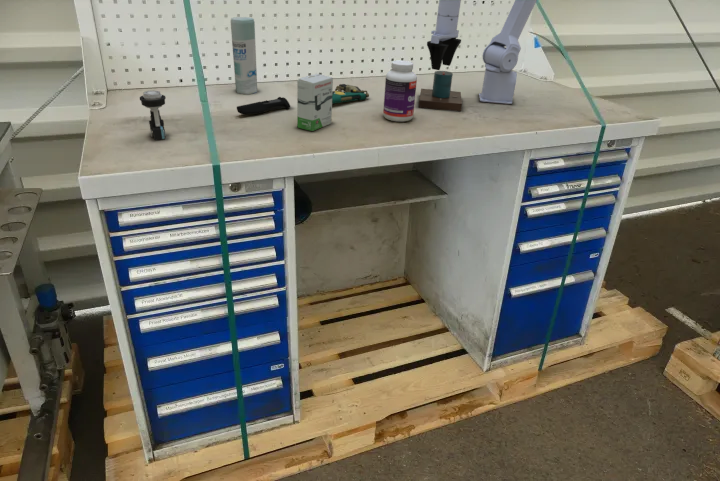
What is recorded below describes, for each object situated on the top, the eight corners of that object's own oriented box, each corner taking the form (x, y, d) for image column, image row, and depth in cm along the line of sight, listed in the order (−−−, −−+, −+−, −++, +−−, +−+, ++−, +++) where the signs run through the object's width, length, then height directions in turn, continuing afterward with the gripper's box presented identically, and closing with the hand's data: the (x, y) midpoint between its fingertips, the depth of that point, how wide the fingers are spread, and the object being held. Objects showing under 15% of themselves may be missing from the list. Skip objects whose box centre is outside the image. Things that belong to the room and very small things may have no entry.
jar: (432, 92, 156) (434, 69, 152) (449, 94, 155) (452, 70, 152) (431, 97, 151) (434, 73, 148) (449, 98, 151) (453, 74, 147)
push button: (143, 132, 122) (135, 89, 116) (166, 129, 124) (160, 87, 119) (148, 141, 117) (141, 97, 112) (173, 138, 119) (167, 94, 114)
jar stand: (420, 95, 160) (421, 87, 159) (459, 99, 159) (460, 91, 158) (418, 107, 149) (419, 99, 148) (460, 111, 148) (462, 103, 147)
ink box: (312, 132, 127) (312, 82, 121) (296, 127, 130) (295, 78, 123) (332, 123, 134) (333, 75, 128) (317, 119, 136) (317, 72, 130)
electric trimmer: (234, 116, 136) (233, 104, 134) (283, 105, 145) (282, 94, 143) (242, 120, 133) (241, 107, 132) (291, 109, 143) (291, 97, 141)
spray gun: (353, 92, 162) (376, 108, 151) (303, 93, 155) (322, 109, 144) (355, 78, 160) (378, 93, 149) (304, 78, 153) (324, 94, 142)
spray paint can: (262, 91, 156) (259, 19, 146) (247, 95, 152) (242, 21, 141) (246, 87, 159) (241, 16, 149) (230, 91, 155) (225, 18, 144)
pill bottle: (411, 124, 136) (416, 67, 129) (380, 121, 137) (384, 64, 130) (414, 115, 143) (420, 60, 136) (385, 112, 144) (389, 58, 137)
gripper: (444, 11, 149) (438, 61, 155) (423, 15, 138) (417, 68, 144) (468, 14, 146) (460, 65, 152) (448, 19, 135) (440, 73, 142)
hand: (441, 67), depth 148 cm, fingers open, 7 cm apart
